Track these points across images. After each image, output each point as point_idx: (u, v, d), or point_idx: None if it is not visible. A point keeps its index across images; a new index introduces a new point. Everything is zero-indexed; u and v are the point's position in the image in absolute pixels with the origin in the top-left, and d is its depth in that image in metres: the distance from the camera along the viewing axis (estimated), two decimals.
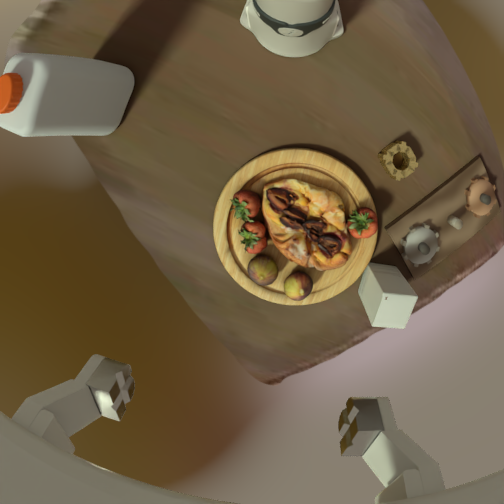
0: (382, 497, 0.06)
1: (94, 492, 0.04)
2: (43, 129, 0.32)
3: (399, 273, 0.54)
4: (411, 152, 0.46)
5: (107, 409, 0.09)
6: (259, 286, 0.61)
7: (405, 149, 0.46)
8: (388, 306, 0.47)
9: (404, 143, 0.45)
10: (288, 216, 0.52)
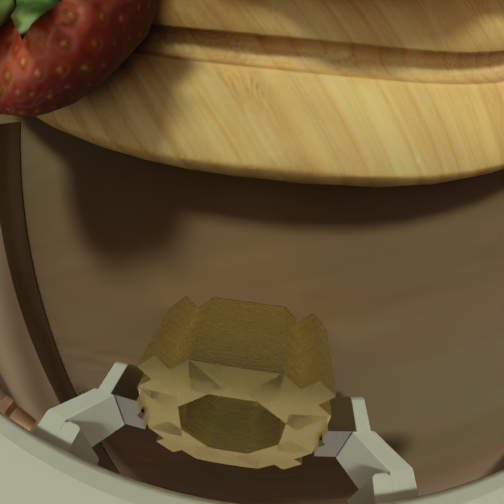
0: (353, 500, 0.06)
1: (94, 492, 0.04)
2: None
3: None
4: (231, 462, 0.10)
5: (132, 417, 0.08)
6: None
7: (261, 458, 0.09)
8: None
9: (285, 465, 0.09)
10: None
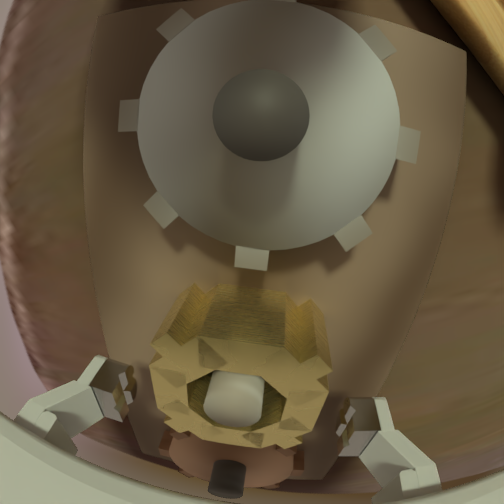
0: (379, 497, 0.06)
1: (94, 492, 0.04)
2: None
3: None
4: (234, 441, 0.10)
5: (110, 410, 0.09)
6: None
7: (263, 436, 0.10)
8: None
9: (286, 444, 0.10)
10: None
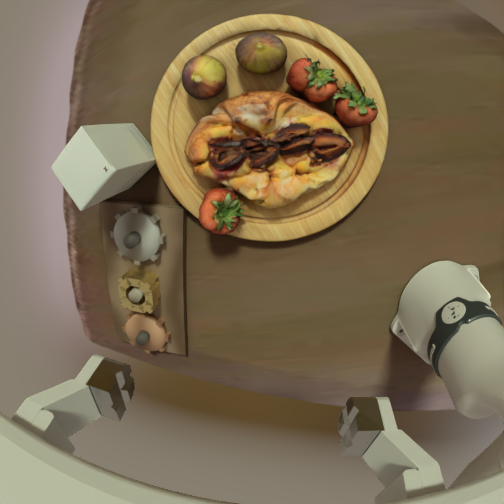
0: (382, 497, 0.06)
1: (94, 492, 0.04)
2: None
3: (120, 191, 0.38)
4: (137, 310, 0.44)
5: (107, 409, 0.09)
6: (239, 32, 0.30)
7: (143, 307, 0.44)
8: (92, 165, 0.28)
9: (149, 311, 0.44)
10: (300, 136, 0.33)
